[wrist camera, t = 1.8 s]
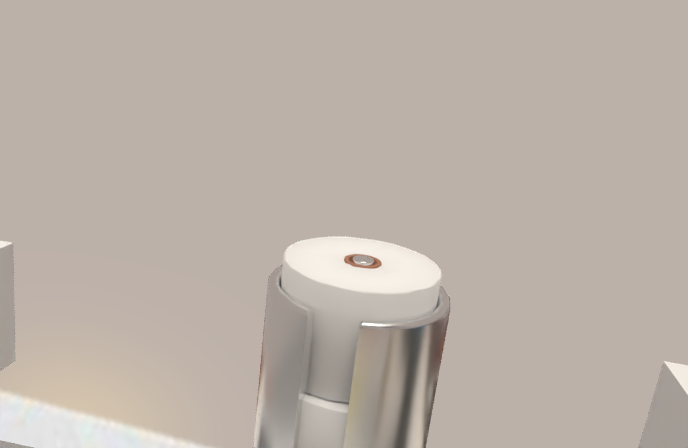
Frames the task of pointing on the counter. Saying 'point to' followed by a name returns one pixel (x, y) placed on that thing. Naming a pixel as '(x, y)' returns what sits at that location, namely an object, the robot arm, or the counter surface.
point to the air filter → (350, 346)
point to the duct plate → (11, 445)
